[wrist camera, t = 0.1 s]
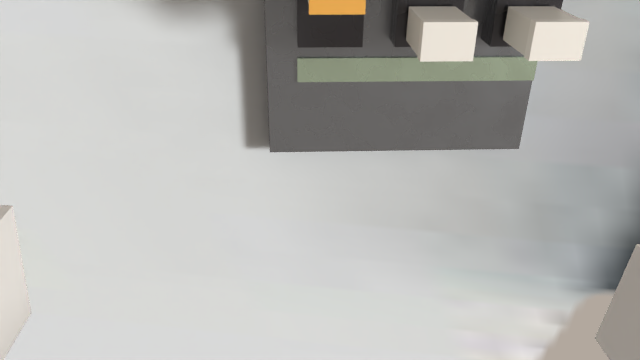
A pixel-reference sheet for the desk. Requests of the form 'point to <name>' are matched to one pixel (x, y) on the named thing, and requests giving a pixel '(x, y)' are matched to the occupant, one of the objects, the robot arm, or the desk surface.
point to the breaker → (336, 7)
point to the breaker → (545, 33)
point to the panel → (391, 81)
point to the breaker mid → (441, 33)
